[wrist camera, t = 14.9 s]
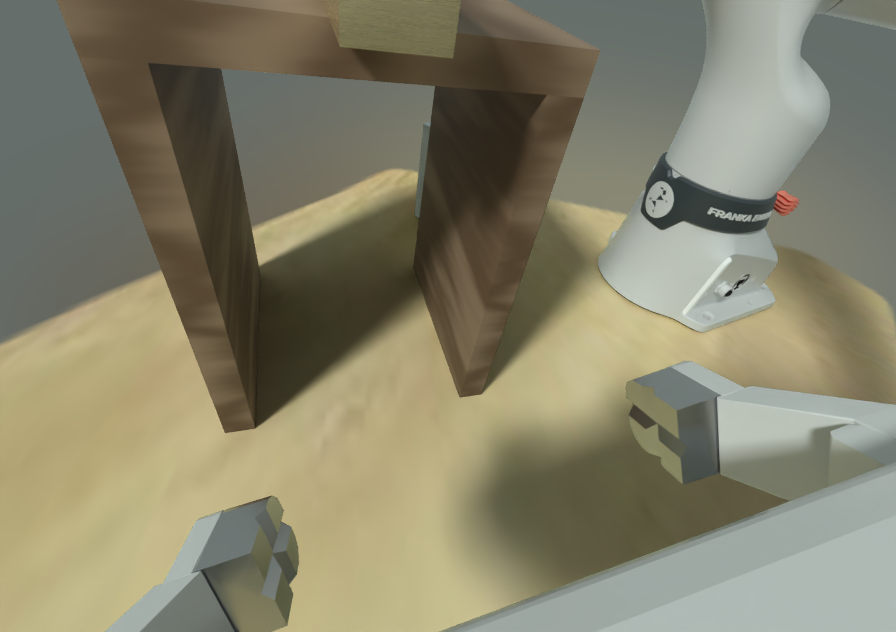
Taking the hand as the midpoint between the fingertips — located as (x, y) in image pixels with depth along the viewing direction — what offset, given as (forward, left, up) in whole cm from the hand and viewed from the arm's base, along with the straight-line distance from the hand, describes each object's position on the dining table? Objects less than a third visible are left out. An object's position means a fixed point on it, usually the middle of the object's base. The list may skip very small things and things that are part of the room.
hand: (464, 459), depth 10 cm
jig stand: (0, -24, -21) cm, 32 cm away
